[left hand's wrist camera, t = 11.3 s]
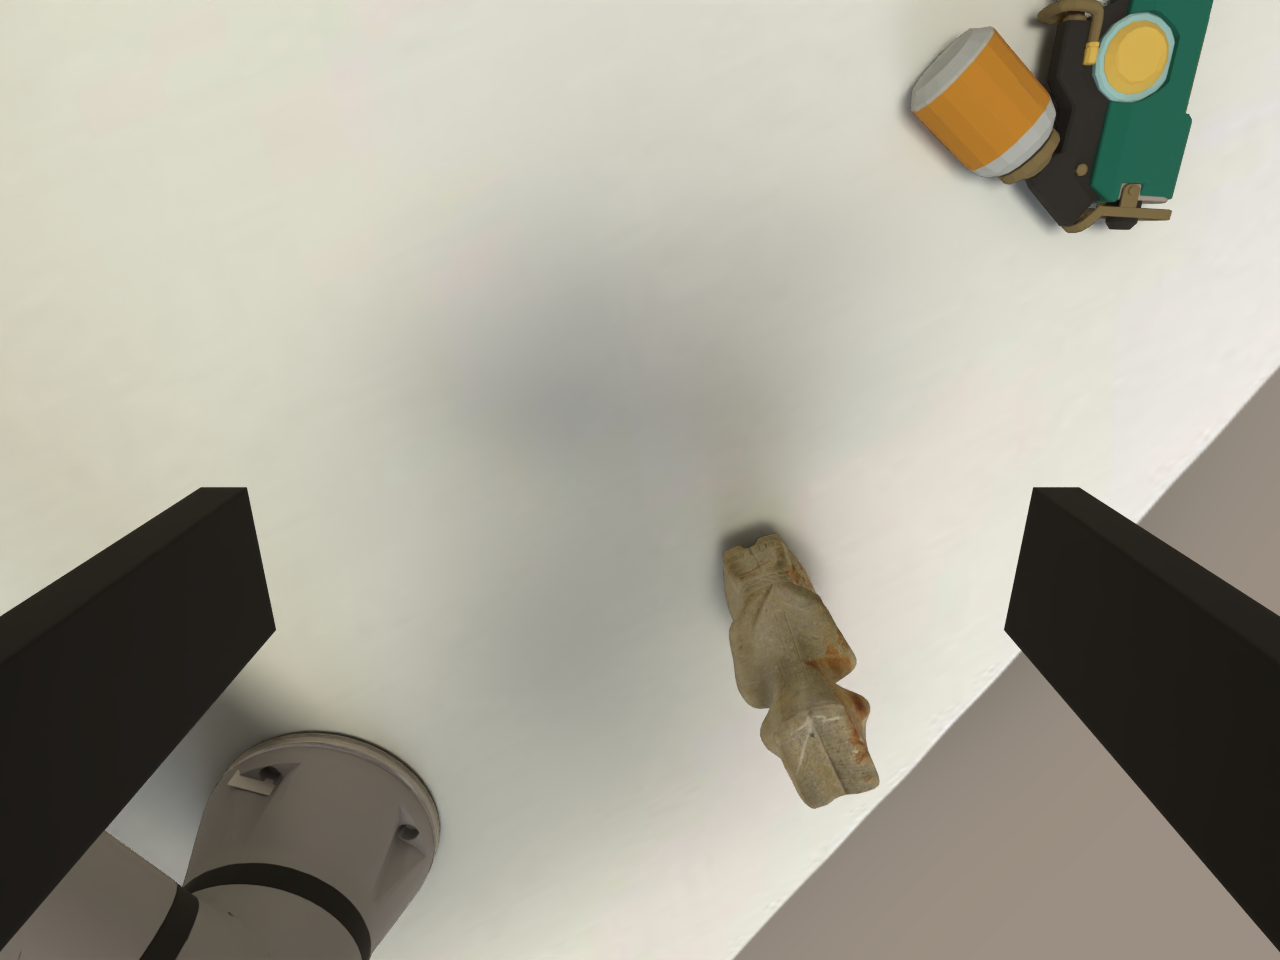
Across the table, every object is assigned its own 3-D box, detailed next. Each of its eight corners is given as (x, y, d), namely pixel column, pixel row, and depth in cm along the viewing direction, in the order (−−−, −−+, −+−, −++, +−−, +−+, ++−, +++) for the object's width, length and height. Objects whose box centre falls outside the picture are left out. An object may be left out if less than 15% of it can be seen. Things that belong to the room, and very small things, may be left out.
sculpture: (735, 640, 45) (778, 836, 31) (699, 540, 43) (728, 704, 29) (826, 612, 44) (912, 800, 30) (795, 510, 42) (873, 663, 28)
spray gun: (1006, -255, 31) (1297, -108, 33) (847, 155, 35) (1111, 259, 37) (1069, -331, 26) (1395, -158, 29) (879, 143, 31) (1174, 261, 33)
